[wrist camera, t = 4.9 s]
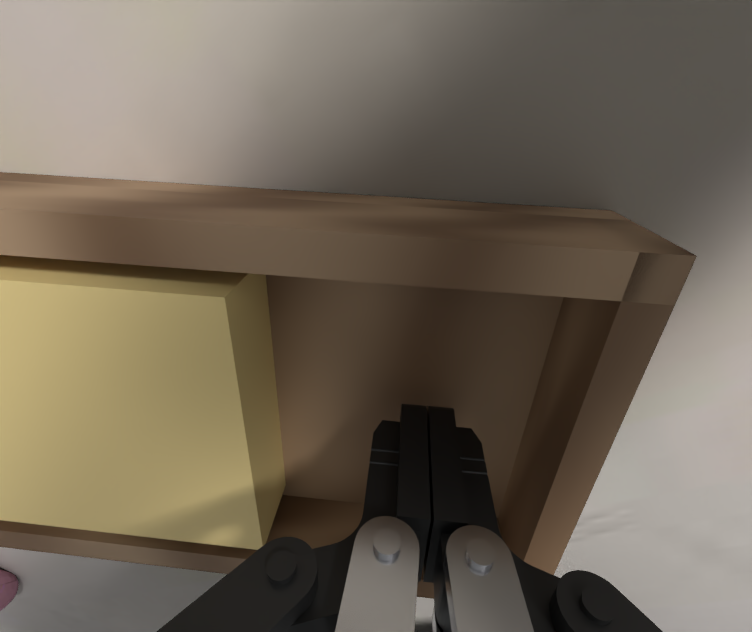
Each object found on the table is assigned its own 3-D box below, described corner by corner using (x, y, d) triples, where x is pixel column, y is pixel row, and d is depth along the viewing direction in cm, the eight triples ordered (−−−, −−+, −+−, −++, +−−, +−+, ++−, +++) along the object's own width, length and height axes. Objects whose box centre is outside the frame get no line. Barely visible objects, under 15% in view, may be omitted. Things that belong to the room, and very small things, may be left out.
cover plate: (264, 257, 11) (224, 297, 8) (285, 484, 15) (263, 550, 13) (-148, 227, 11) (-284, 257, 9) (-14, 453, 16) (-85, 510, 13)
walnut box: (612, 210, 10) (697, 256, 7) (513, 513, 16) (537, 610, 13) (-137, 163, 11) (-340, 185, 8) (23, 461, 17) (-62, 539, 14)
